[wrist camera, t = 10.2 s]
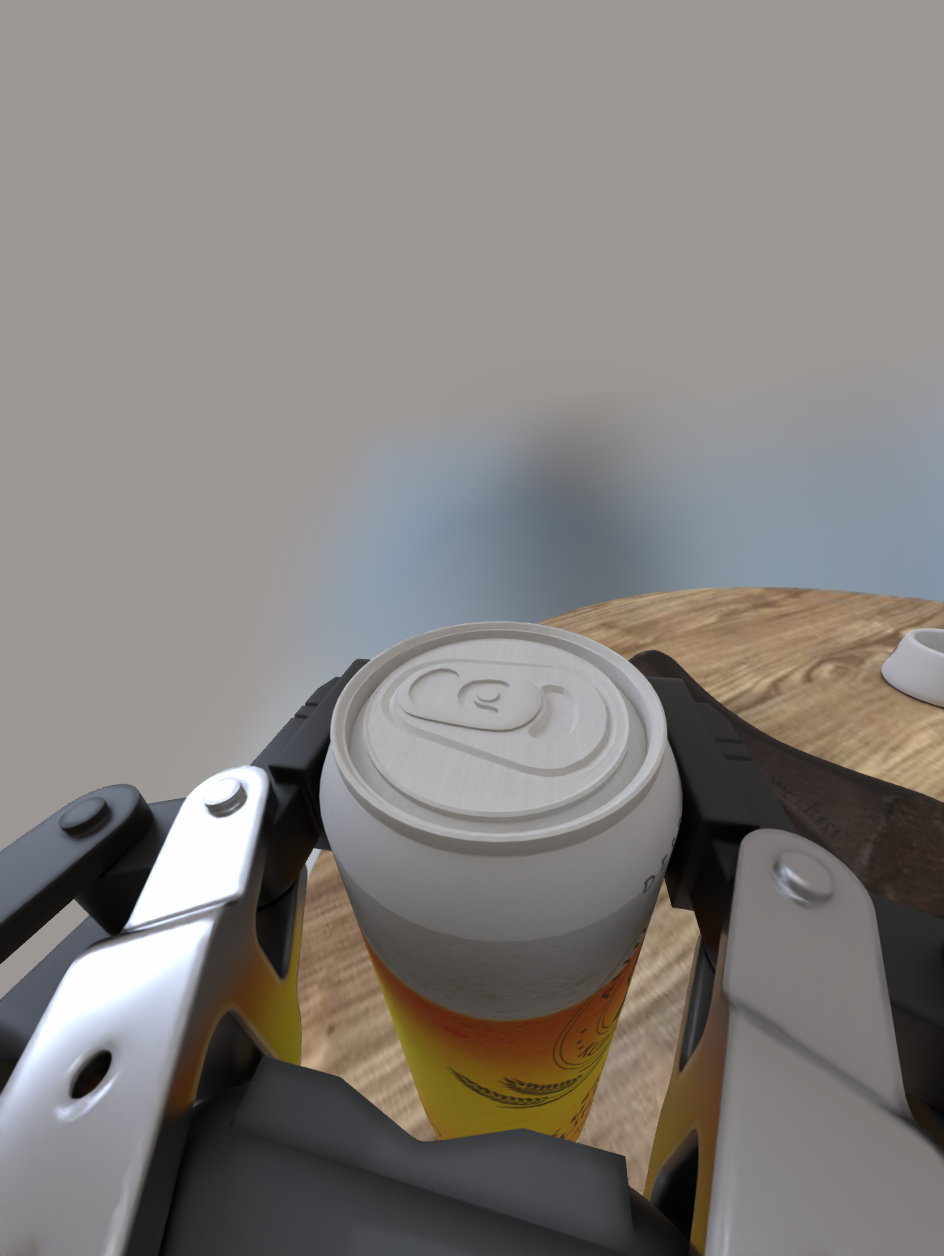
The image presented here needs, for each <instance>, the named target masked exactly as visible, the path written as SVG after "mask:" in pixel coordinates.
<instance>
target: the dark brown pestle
mask: <svg viewBox="0 0 944 1256" xmlns="http://www.w3.org/2000/svg"><path fill="white" fill-rule="evenodd" d="M629 662H630V663H631V664H632V665H633V666H634V667H636V668H637V669H638V670H639V671H640V672H641V673H642V674H643V675H644V677H663V678H680V679H682V680H683V681H684V682H685V684H686V686H687V688H688V690H689V692H690V694H691V696H692V697H693V699H694V701H695V702H698V703H709V704H710V705H711V706H712V707H714V708H715V709H716V710H717V711H719V712H720V713H721V714H722V715H723V716H725V717H726V718H727V719H728V720H729V721H730V722H731V724H732V726H733V727H734V729H735V731H736V732H737V734H738V735H739V737H740V739H741V743H742V744H744V745H745V747H746V748H747V750H748V752H749V753H750V755H751V757H752V762H755V763H756V765H757V766H758V768H759V770H760V771H761V773H762V775H763V776H764V778H765V780H766V781H767V783H768V784H769V786H770V788H771V789H772V791H773V793H774V794H775V796H776V798H777V799H778V801H779V802H780V804H781V806H782V807H783V809H784V811H785V812H786V814H787V816H788V817H789V819H790V820H791V822H792V824H793V825H794V827H795V829H796V830H797V832H798V833H799V835H800V836H802V837H804V838H806V839H808V840H810V841H812V842H814V843H816V844H817V845H819V846H821V847H822V848H824V849H825V850H827V851H828V852H830V853H831V854H833V855H834V856H835V857H836V858H838V859H839V860H840V861H841V862H842V863H844V864H845V865H846V866H847V867H848V868H849V869H850V870H851V871H852V872H853V873H854V874H855V876H856V877H857V878H858V879H859V880H860V882H861V883H862V884H863V886H864V887H865V889H867V890H869V891H871V892H873V893H875V894H878V895H880V896H882V897H885V898H887V899H890V900H892V901H895V902H898V903H900V904H903V905H905V906H908V907H911V908H913V909H916V910H918V911H921V912H924V913H926V914H929V915H931V916H934V917H936V918H939V919H942V920H944V803H943V802H941V801H938V800H936V799H934V798H931V797H929V796H927V795H924V794H922V793H919V792H916V791H913V790H910V789H907V788H904V787H902V786H898V785H895V784H892V783H889V782H886V781H883V780H880V779H877V778H874V777H871V776H868V775H865V774H862V773H859V772H856V771H853V770H850V769H847V768H845V767H842V766H839V765H837V764H834V763H831V762H828V761H826V760H823V759H821V758H818V757H815V756H813V755H810V754H808V753H806V752H803V751H801V750H798V749H796V748H793V747H791V746H789V745H787V744H784V743H782V742H780V741H778V740H776V739H774V738H772V737H771V736H769V735H767V734H765V733H763V732H762V731H760V730H759V729H757V728H755V727H753V726H752V725H750V724H749V723H747V722H746V721H744V720H743V719H741V718H740V717H738V716H737V715H735V714H734V713H733V712H731V711H730V710H728V709H727V708H726V707H724V706H723V705H722V704H721V703H719V702H718V701H717V700H716V699H714V698H713V697H712V696H711V695H710V694H709V693H707V692H706V691H705V690H704V689H703V688H702V687H701V686H700V685H699V684H698V683H697V682H696V681H695V680H694V679H693V678H692V677H691V676H690V675H689V674H688V673H687V672H686V671H685V670H684V669H683V668H682V667H681V666H680V665H679V664H678V663H677V662H676V661H675V660H674V659H672V658H671V657H669V656H668V655H666V654H664V653H662V652H660V651H657V650H650V651H645V652H641V653H639V654H636V655H635V656H634V657H633V658H631V659H630V660H629Z"/></svg>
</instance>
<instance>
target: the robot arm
mask: <svg viewBox="0 0 944 1256" xmlns="http://www.w3.org/2000/svg"><path fill="white" fill-rule="evenodd" d="M369 661H370V660H368V659H357V660H355V661H354V662H353V663H352V665H351V666H350V667H349V668H348V670H347V671H346V672H345V673H344V674H343V675H342V677H335V678H334V679H332V680H330V681H329V682H327V683H326V684H324V685H323V686H321V687H320V688H318V689H317V690H316V692H314V694H313V695H312V696H311V697H310V698H309V699H308V700H307V701H306V703H305V706H302V707H301V708H300V709H299V710H298V712H297V713H296V714H295V717H294V718H291V719H290V721H289V722H288V723H287V724H286V725H285V726H284V727H283V729H282V730H281V731H280V732H279V733H278V734H277V736H275V738H274V739H273V740H272V741H271V742H270V743H269V744H268V746H267V747H266V748H265V749H264V750H263V751H262V752H261V754H260V755H259V756H258V757H257V758H256V759H255V760H254V761H253V763H252V764H251V765H250V766H240V767H235V768H231V769H228V770H226V771H223V772H220V773H218V774H217V775H214V776H213V777H211V778H209V779H207V780H206V781H205V782H203V783H202V784H200V785H199V786H198V787H197V788H196V789H195V790H193V792H192V793H191V794H190V795H189V796H188V797H187V798H181V799H174V800H168V801H162V802H156V803H150V804H147V803H146V801H145V800H144V798H143V797H142V795H141V794H140V793H139V791H138V790H137V788H136V787H134V786H132V785H128V784H117V785H111V786H107V787H103V788H101V789H98V790H95V791H92V792H90V793H88V794H86V795H83V796H82V797H79V798H78V799H76V800H74V801H72V802H71V803H69V804H68V805H66V806H64V807H63V808H61V809H60V810H58V811H57V812H56V813H54V814H53V815H51V816H50V817H49V818H47V819H46V820H44V821H43V822H41V823H40V824H39V825H37V826H36V827H34V828H33V829H31V830H30V831H29V832H27V833H26V834H24V835H23V836H22V837H20V838H19V839H17V840H16V841H14V842H13V843H12V844H10V845H9V846H7V847H6V848H4V849H3V850H2V851H0V964H1V963H2V962H3V961H5V960H6V959H7V958H8V957H9V956H10V955H11V954H12V953H13V952H14V951H16V950H17V949H18V948H19V947H20V946H21V945H23V944H24V943H25V942H26V941H27V940H28V939H29V938H30V937H32V935H34V934H35V933H36V932H37V931H38V930H39V929H40V928H42V927H43V926H44V925H45V924H46V923H47V922H48V921H50V920H51V919H52V918H53V917H54V916H55V915H56V914H57V913H59V911H61V910H62V909H63V908H64V907H65V906H66V905H67V904H69V903H70V902H71V901H72V900H73V899H75V900H76V901H77V902H78V904H79V905H80V906H81V907H82V908H83V909H84V910H86V912H87V913H88V914H89V916H88V917H87V918H86V919H85V920H84V921H83V922H82V923H81V924H80V925H79V926H77V928H75V929H74V930H73V931H72V932H71V933H70V934H69V935H68V936H67V937H66V938H65V939H64V940H63V941H62V942H61V943H60V944H58V945H57V946H56V948H54V949H53V950H52V951H51V952H50V953H49V954H48V955H47V956H46V957H45V958H44V959H43V960H42V961H41V962H39V963H38V964H37V965H36V966H35V967H34V968H33V969H32V970H31V971H30V972H29V973H28V974H27V975H26V976H25V977H24V978H23V979H22V980H20V982H18V983H17V984H16V985H15V986H14V987H13V988H12V989H11V990H10V991H9V992H8V993H7V994H6V995H5V996H4V997H3V998H2V999H1V1000H0V1256H944V920H942V919H939V918H936V917H934V916H931V915H929V914H926V913H924V912H921V911H918V910H916V909H913V908H911V907H908V906H905V905H903V904H900V903H898V902H895V901H892V900H890V899H887V898H885V897H882V896H880V895H878V894H875V893H873V892H871V891H869V890H867V889H865V887H864V886H863V884H862V883H861V882H860V880H859V879H858V878H857V877H856V876H855V874H854V873H853V872H852V871H851V870H850V869H849V868H848V867H847V866H846V865H845V864H844V863H842V862H841V861H840V860H839V859H838V858H836V857H835V856H834V855H833V854H831V853H830V852H828V851H827V850H825V849H824V848H822V847H821V846H819V845H817V844H816V843H814V842H812V841H810V840H808V839H806V838H804V837H802V836H800V835H799V833H798V832H797V830H796V829H795V827H794V825H793V824H792V822H791V820H790V819H789V817H788V816H787V814H786V812H785V811H784V809H783V807H782V806H781V804H780V802H779V801H778V799H777V798H776V796H775V794H774V793H773V791H772V789H771V788H770V786H769V784H768V783H767V781H766V780H765V778H764V776H763V775H762V773H761V771H760V770H759V768H758V766H757V765H756V763H755V762H752V757H751V755H750V753H749V752H748V750H747V748H746V747H745V745H744V744H742V743H741V739H740V737H739V735H738V734H737V732H736V731H735V729H734V727H733V726H732V724H731V722H730V721H729V720H728V719H727V718H726V717H725V716H723V715H722V714H721V713H720V712H719V711H717V710H716V709H715V708H714V707H712V706H711V705H710V704H709V703H698V702H695V701H694V699H693V697H692V696H691V694H690V692H689V690H688V688H687V686H686V684H685V682H684V681H683V680H682V679H680V678H663V677H645V678H646V679H647V680H648V681H649V683H650V684H651V685H652V687H653V689H654V690H655V692H656V693H657V695H658V697H659V699H660V702H661V704H662V706H663V709H664V713H665V717H666V722H667V739H668V742H669V744H670V747H671V749H672V752H673V755H674V757H675V760H676V763H677V766H678V770H679V774H680V777H681V782H682V794H683V806H682V818H681V822H680V826H679V830H678V834H677V838H676V841H675V844H674V847H673V851H672V854H671V857H670V860H669V863H668V866H667V869H666V872H665V876H664V878H665V882H666V886H667V890H668V894H669V897H670V901H671V905H672V907H673V908H680V909H686V910H692V911H694V912H695V916H696V919H697V923H698V926H699V929H700V935H699V937H698V940H697V943H696V947H695V952H694V958H693V963H692V969H691V974H690V979H689V985H688V990H687V995H686V1001H685V1006H684V1012H683V1017H682V1022H681V1028H680V1033H679V1038H678V1044H677V1049H676V1055H675V1060H674V1065H673V1070H672V1075H671V1079H670V1083H669V1087H668V1090H667V1093H666V1097H665V1100H664V1103H663V1106H662V1110H661V1114H660V1117H659V1121H658V1125H657V1130H656V1134H655V1139H654V1143H653V1148H652V1153H651V1158H650V1163H649V1169H648V1174H647V1179H646V1184H645V1189H644V1194H643V1196H642V1195H641V1194H639V1193H638V1192H637V1191H635V1190H634V1189H633V1188H631V1187H630V1186H629V1185H628V1178H627V1168H626V1159H625V1156H623V1155H619V1154H615V1153H612V1152H608V1151H605V1150H601V1149H597V1148H594V1147H590V1146H587V1145H583V1144H579V1143H576V1142H572V1141H569V1140H565V1139H561V1138H558V1137H554V1136H551V1135H547V1134H543V1133H540V1132H536V1131H533V1130H529V1129H525V1128H520V1129H514V1130H507V1131H500V1132H494V1133H487V1134H480V1135H473V1136H467V1137H460V1138H453V1139H447V1140H440V1141H433V1142H423V1141H420V1140H417V1139H415V1138H414V1137H412V1136H411V1135H409V1134H408V1133H407V1132H406V1131H405V1130H403V1129H402V1128H401V1127H400V1126H399V1125H397V1124H396V1123H395V1122H394V1121H393V1120H391V1119H390V1118H389V1117H388V1116H386V1115H385V1114H384V1113H383V1112H382V1111H380V1110H379V1109H378V1108H377V1107H376V1106H374V1105H373V1104H372V1103H371V1102H370V1101H368V1100H367V1099H366V1098H365V1097H364V1096H362V1095H361V1094H360V1093H359V1092H358V1091H356V1090H355V1089H354V1088H353V1087H352V1086H350V1085H349V1084H348V1083H347V1082H346V1081H344V1080H343V1079H342V1078H341V1077H338V1076H335V1075H331V1074H327V1073H324V1072H320V1071H317V1070H313V1069H309V1068H306V1067H302V1066H300V1062H301V1044H302V1031H301V1016H300V1009H299V1004H298V995H297V979H298V968H299V958H300V948H301V937H302V927H303V917H304V907H305V897H306V886H307V867H306V864H305V863H306V861H307V859H308V857H309V855H310V854H311V852H312V850H313V848H316V849H322V850H329V851H332V849H331V846H330V843H329V841H328V838H327V835H326V832H325V828H324V824H323V820H322V817H321V809H320V798H319V795H320V779H321V775H322V770H323V765H324V761H325V758H326V755H327V752H328V749H329V746H330V742H331V739H330V732H331V720H332V716H333V711H334V708H335V705H336V703H337V700H338V698H339V696H340V695H341V693H342V691H343V689H344V688H345V686H346V685H347V684H348V682H349V681H350V680H351V678H352V677H353V676H354V675H355V674H356V673H357V672H358V671H359V670H360V669H361V668H362V667H363V666H364V665H366V664H367V663H368V662H369Z"/></svg>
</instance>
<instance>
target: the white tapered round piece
mask: <svg viewBox="0 0 944 1256" xmlns="http://www.w3.org/2000/svg"><path fill="white" fill-rule="evenodd" d="M881 671H882V674H883V676H884V678H885V679H886V680H887V681H888V683H890V684H891V685H892V686H894V687H895V688H897V689H898V690H900V691H902V692H904V693H906V694H908V695H910V696H912V697H915V698H917V699H919V700H922V701H925V702H928V703H931V704H934V705H937V706H941V707H944V629H933V628H923V629H914V630H911V631H909V632H908V633H907V634H906V635H905V637H904V638H903V639H902V640H901V642H900V643H899V644H898V646H897V647H896V648H895V649H894V651H893V652H892V653H891V654H890V656H889V657H888V658H887V660H886V661H885V663H884V664H883V666H882V668H881Z"/></svg>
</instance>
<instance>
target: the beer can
mask: <svg viewBox="0 0 944 1256" xmlns="http://www.w3.org/2000/svg"><path fill="white" fill-rule="evenodd" d="M330 739H331V742H330V746H329V749H328V752H327V755H326V758H325V761H324V765H323V770H322V775H321V779H320V795H319V798H320V809H321V817H322V820H323V824H324V828H325V832H326V835H327V838H328V841H329V843H330V846H331V849H332V852H333V855H334V857H335V860H336V863H337V866H338V869H339V872H340V874H341V877H342V880H343V883H344V886H345V888H346V891H347V894H348V897H349V900H350V902H351V905H352V908H353V911H354V914H355V916H356V919H357V922H358V925H359V928H360V930H361V933H362V936H363V939H364V942H365V944H366V947H367V950H368V953H369V956H370V958H371V961H372V964H373V967H374V970H375V973H376V975H377V978H378V981H379V984H380V987H381V989H382V992H383V995H384V998H385V1001H386V1003H387V1006H388V1009H389V1012H390V1015H391V1017H392V1020H393V1023H394V1026H395V1029H396V1031H397V1034H398V1037H399V1040H400V1043H401V1045H402V1048H403V1051H404V1054H405V1057H406V1059H407V1062H408V1065H409V1068H410V1071H411V1073H412V1076H413V1079H414V1082H415V1085H416V1088H417V1090H418V1093H419V1096H420V1099H421V1102H422V1104H423V1107H424V1110H425V1112H426V1114H427V1117H428V1119H429V1122H430V1124H431V1126H432V1127H433V1129H434V1131H435V1133H436V1135H437V1137H438V1138H439V1140H447V1139H453V1138H460V1137H467V1136H473V1135H480V1134H487V1133H494V1132H500V1131H507V1130H514V1129H520V1128H525V1129H529V1130H533V1131H536V1132H540V1133H543V1134H547V1135H551V1136H554V1137H558V1138H561V1139H565V1140H569V1141H572V1142H576V1141H577V1139H578V1137H579V1135H580V1133H581V1131H582V1129H583V1126H584V1124H585V1121H586V1119H587V1116H588V1113H589V1110H590V1107H591V1104H592V1101H593V1098H594V1095H595V1091H596V1088H597V1085H598V1082H599V1079H600V1076H601V1073H602V1070H603V1066H604V1063H605V1060H606V1057H607V1054H608V1051H609V1048H610V1045H611V1041H612V1038H613V1035H614V1032H615V1029H616V1026H617V1023H618V1019H619V1016H620V1013H621V1010H622V1007H623V1004H624V1001H625V998H626V994H627V991H628V988H629V985H630V982H631V979H632V976H633V973H634V969H635V966H636V963H637V960H638V957H639V954H640V951H641V948H642V944H643V941H644V938H645V935H646V932H647V929H648V926H649V923H650V919H651V916H652V913H653V910H654V907H655V904H656V901H657V897H658V894H659V891H660V888H661V885H662V882H663V879H664V876H665V872H666V869H667V866H668V863H669V860H670V857H671V854H672V851H673V847H674V844H675V841H676V838H677V834H678V830H679V826H680V822H681V818H682V806H683V794H682V782H681V777H680V774H679V770H678V766H677V763H676V760H675V757H674V755H673V752H672V749H671V747H670V744H669V742H668V739H667V722H666V717H665V713H664V709H663V706H662V704H661V702H660V699H659V697H658V695H657V693H656V692H655V690H654V689H653V687H652V685H651V684H650V683H649V681H648V680H647V679H646V678H645V677H644V675H643V674H642V673H641V672H640V671H639V670H638V669H637V668H636V667H634V666H633V665H632V664H631V663H630V662H629V661H627V660H626V659H625V658H623V657H622V656H621V655H619V654H617V653H616V652H614V651H613V650H611V649H609V648H608V647H606V646H604V645H602V644H600V643H598V642H596V641H593V640H591V639H589V638H586V637H584V636H581V635H578V634H575V633H573V632H569V631H566V630H562V629H558V628H554V627H549V626H544V625H538V624H531V623H522V622H506V621H500V622H499V621H495V622H494V621H493V622H476V623H467V624H460V625H453V626H449V627H444V628H440V629H436V630H432V631H428V632H425V633H422V634H420V635H417V636H414V637H412V638H409V639H407V640H404V641H402V642H400V643H399V644H396V645H394V646H392V647H390V648H389V649H387V650H385V651H383V652H382V653H380V654H379V655H377V656H376V657H374V658H373V659H372V660H370V661H369V662H368V663H367V664H366V665H364V666H363V667H362V668H361V669H360V670H359V671H358V672H357V673H356V674H355V675H354V676H353V677H352V678H351V680H350V681H349V682H348V684H347V685H346V686H345V688H344V689H343V691H342V693H341V695H340V696H339V698H338V700H337V703H336V705H335V708H334V711H333V716H332V720H331V732H330Z"/></svg>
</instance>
